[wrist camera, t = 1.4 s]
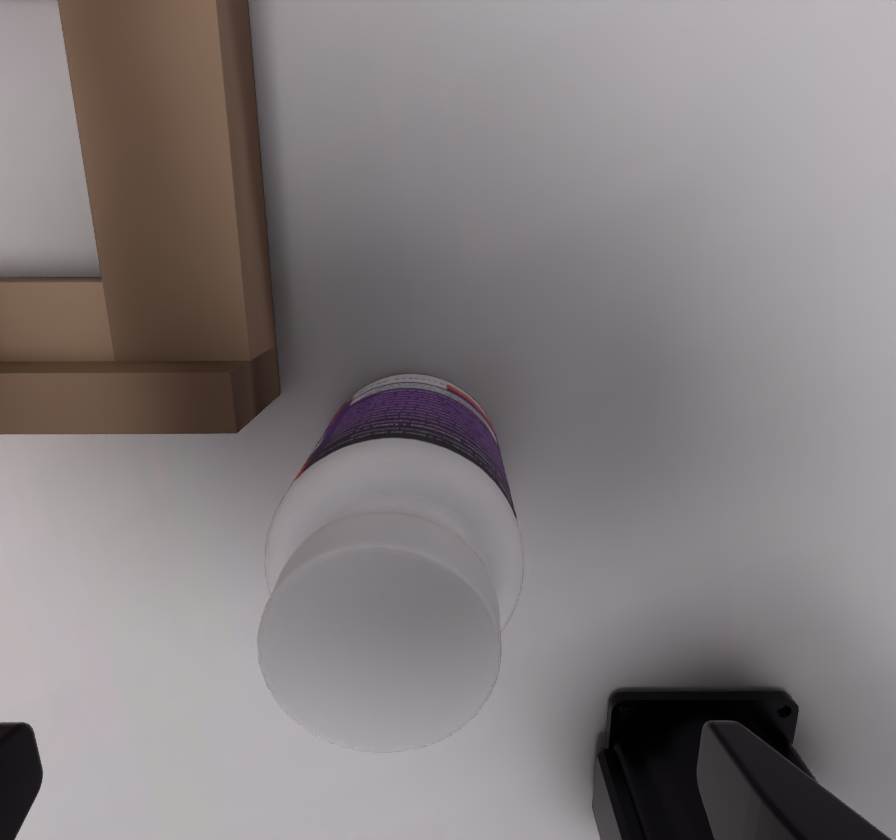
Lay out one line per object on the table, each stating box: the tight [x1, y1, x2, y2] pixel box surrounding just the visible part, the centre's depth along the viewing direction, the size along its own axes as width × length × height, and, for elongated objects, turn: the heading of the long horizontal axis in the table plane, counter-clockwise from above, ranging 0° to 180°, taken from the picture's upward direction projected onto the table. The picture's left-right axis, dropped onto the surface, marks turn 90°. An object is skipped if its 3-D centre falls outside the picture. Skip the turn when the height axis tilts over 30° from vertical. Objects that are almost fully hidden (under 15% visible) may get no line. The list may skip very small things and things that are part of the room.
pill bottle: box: [257, 374, 524, 753], centre depth 14 cm, size 5×5×10 cm
